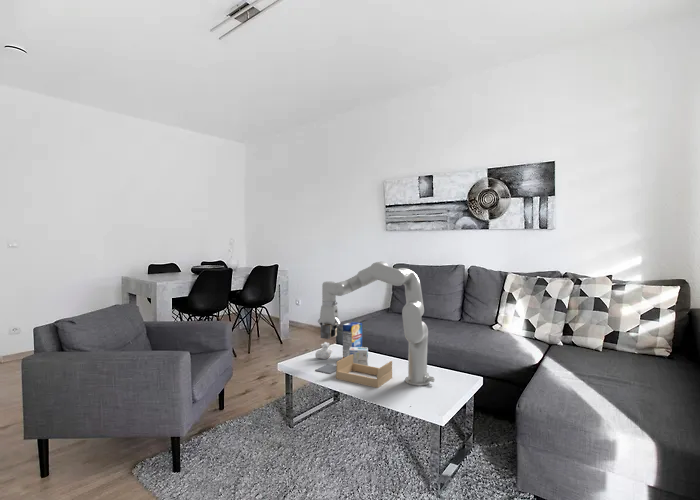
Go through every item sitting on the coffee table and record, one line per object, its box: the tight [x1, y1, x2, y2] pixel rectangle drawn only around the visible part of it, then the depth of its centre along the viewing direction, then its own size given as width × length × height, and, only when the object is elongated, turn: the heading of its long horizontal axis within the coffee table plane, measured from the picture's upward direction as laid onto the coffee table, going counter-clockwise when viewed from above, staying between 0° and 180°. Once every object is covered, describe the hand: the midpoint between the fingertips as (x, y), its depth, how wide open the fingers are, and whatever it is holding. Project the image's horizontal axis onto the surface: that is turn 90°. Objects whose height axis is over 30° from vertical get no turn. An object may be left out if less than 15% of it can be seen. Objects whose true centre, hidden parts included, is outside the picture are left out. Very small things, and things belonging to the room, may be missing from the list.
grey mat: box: [315, 363, 336, 375], centre depth 225 cm, size 10×12×1 cm
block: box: [320, 323, 338, 340], centre depth 224 cm, size 5×9×7 cm, turn 149°
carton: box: [335, 354, 393, 389], centre depth 211 cm, size 25×17×9 cm
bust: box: [315, 341, 333, 360], centre depth 245 cm, size 12×8×11 cm
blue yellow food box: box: [342, 321, 363, 359], centre depth 243 cm, size 7×11×22 cm, turn 143°
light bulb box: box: [349, 346, 369, 366], centre depth 230 cm, size 11×7×11 cm, turn 84°
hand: (328, 335), depth 224 cm, fingers closed on block, 5 cm apart
